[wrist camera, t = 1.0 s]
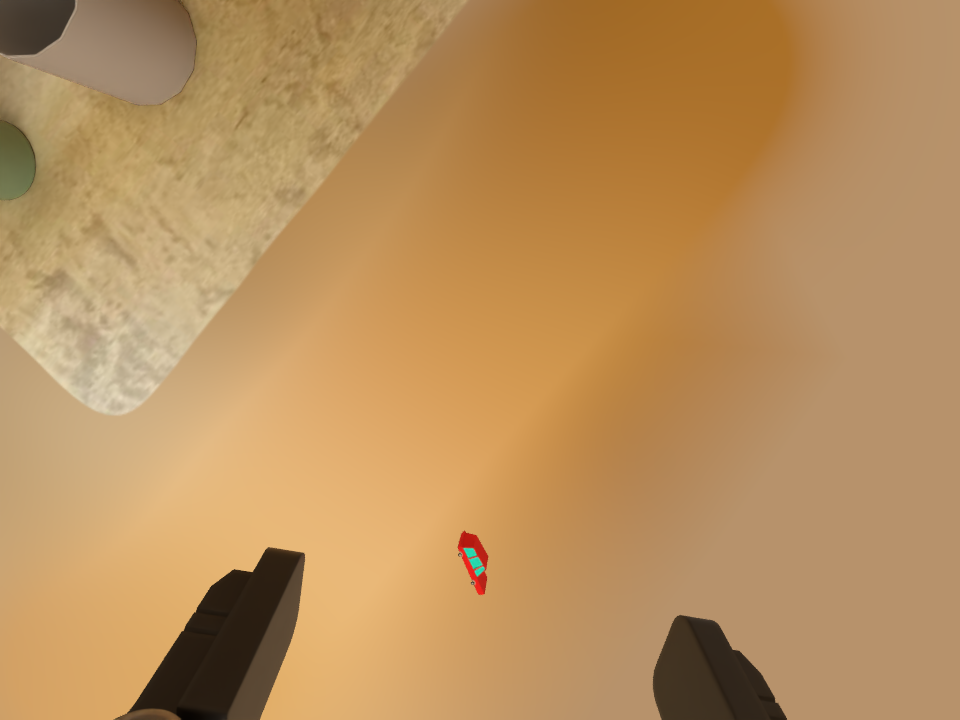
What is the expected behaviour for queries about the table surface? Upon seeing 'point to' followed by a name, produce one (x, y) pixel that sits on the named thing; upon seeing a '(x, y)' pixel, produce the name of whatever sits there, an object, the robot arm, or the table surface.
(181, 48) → the cup
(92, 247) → the table surface
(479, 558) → the toy car
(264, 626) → the robot arm
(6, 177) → the bottle
